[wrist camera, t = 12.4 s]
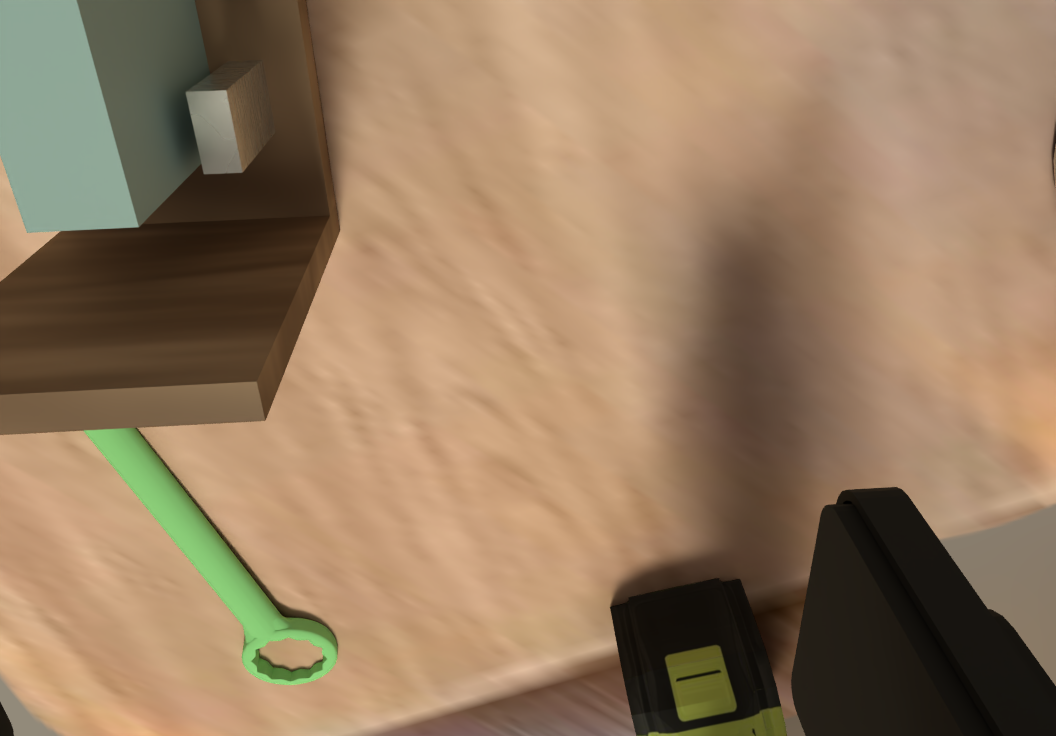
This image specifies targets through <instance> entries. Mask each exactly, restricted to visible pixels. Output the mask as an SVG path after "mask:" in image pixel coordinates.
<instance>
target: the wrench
mask: <svg viewBox="0 0 1056 736" xmlns="http://www.w3.org/2000/svg"><path fill="white" fill-rule="evenodd" d="M84 432H85V433H86V434H87V436H88V437H89V438H90V439H91V441H92V442H93V443H94V444H95V445H96V447H97V448H98V449H99V450H100V452H101V453H102V454H103V455H104V456H105V458H106V459H107V460H108V461H109V463H110V464H111V465H112V466H113V467H114V469H115V470H116V471H117V472H118V474H119V475H120V476H121V477H122V478H123V480H124V481H125V482H126V483H127V485H128V486H129V487H130V488H131V489H132V491H133V492H134V493H135V494H136V496H137V497H138V498H139V499H140V500H141V502H142V503H143V504H144V505H145V507H146V508H147V509H148V510H149V511H150V513H151V514H152V515H153V516H154V518H155V519H156V520H157V521H158V522H159V524H160V525H161V526H162V527H163V529H164V530H165V531H166V532H167V533H168V535H169V536H170V537H171V538H172V540H173V541H174V542H175V543H176V544H177V546H178V547H179V548H180V549H181V551H182V552H183V553H184V554H185V555H186V557H187V558H188V559H189V560H190V562H191V563H192V564H193V565H194V566H195V568H196V569H197V570H198V571H199V573H200V574H201V575H202V576H203V577H204V579H205V580H206V581H207V582H208V584H209V585H210V586H211V587H212V588H213V590H214V591H215V592H216V593H217V595H218V596H219V597H220V598H221V599H222V601H223V602H224V603H225V604H226V606H227V607H228V608H229V609H230V610H231V612H232V613H233V614H234V615H235V617H236V618H237V619H238V620H239V621H240V623H241V624H242V625H243V628H244V634H245V641H244V646H243V653H242V661H243V664H244V666H245V668H246V669H247V670H248V671H249V672H250V673H251V674H252V675H254V676H255V677H257V678H259V679H261V680H263V681H266V682H270V683H274V684H282V685H294V684H302V683H307V682H310V681H314V680H316V679H318V678H321V677H322V676H324V675H325V674H327V673H328V672H329V671H330V670H331V669H332V668H333V666H334V665H335V663H336V660H337V643H336V639H335V637H334V636H333V634H332V633H331V632H330V630H329V629H328V628H327V627H325V626H324V625H322V624H320V623H318V622H315V621H312V620H308V619H304V618H286V617H284V616H282V615H281V614H280V613H279V611H278V610H277V609H276V607H275V606H274V605H273V604H272V602H271V601H270V600H269V598H268V597H267V596H266V595H265V593H264V592H263V591H262V589H261V588H260V587H259V586H258V584H257V583H256V582H255V581H254V579H253V578H252V577H251V575H250V574H249V573H248V572H247V570H246V569H245V568H244V566H243V565H242V564H241V563H240V561H239V560H238V559H237V557H236V556H235V555H234V554H233V552H232V551H231V550H230V548H229V547H228V546H227V545H226V543H225V542H224V541H223V539H222V538H221V537H220V536H219V534H218V533H217V532H216V531H215V529H214V528H213V527H212V525H211V524H210V523H209V522H208V520H207V519H206V518H205V516H204V515H203V514H202V513H201V511H200V510H199V509H198V507H197V506H196V505H195V504H194V502H193V501H192V500H191V498H190V497H189V496H188V495H187V493H186V492H185V491H184V489H183V488H182V487H181V486H180V484H179V483H178V482H177V481H176V479H175V478H174V477H173V475H172V474H171V473H170V472H169V470H168V469H167V468H166V466H165V465H164V464H163V463H162V461H161V460H160V459H159V457H158V456H157V455H156V454H155V452H154V451H153V450H152V449H151V447H150V446H149V445H148V443H147V442H146V441H145V440H144V438H143V437H142V436H141V435H140V433H139V432H138V431H137V429H136V428H122V429H103V430H84ZM288 637H289V638H292V639H295V640H309V641H310V642H311V643H312V644H313V645H314V646H317V647H321V648H322V654H323V661H322V662H319V663H316V664H314V665H313V666H312V668H311V669H299V670H296V671H293V672H291V671H288V670H286V669H284V668H273V667H272V666H271V665H270V663H269V662H268V661H265V660H263V659H261V658H259V650H258V649H259V648H262V647H264V646H265V645H266V644H267V643H268V642H269V641H281V640H283V639H286V638H288Z"/></svg>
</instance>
